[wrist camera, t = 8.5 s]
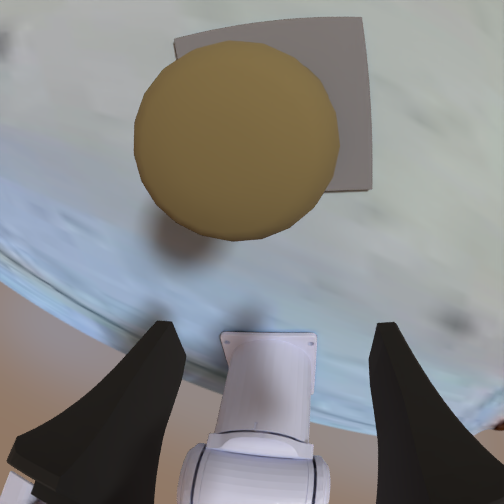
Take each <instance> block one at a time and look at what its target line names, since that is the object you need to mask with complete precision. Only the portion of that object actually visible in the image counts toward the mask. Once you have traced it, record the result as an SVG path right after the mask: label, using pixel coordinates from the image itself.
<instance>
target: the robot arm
mask: <svg viewBox="0 0 504 504" xmlns="http://www.w3.org/2000/svg"><path fill="white" fill-rule="evenodd" d="M220 339H221V342H222V346H223V349H224V353H225V356H226V360H227V363H228V367H229V370H228V374H227V379H226V383H225V388H224V392H223V397H222V401H221V406H220V410H219V415H218V419H217V424H216V428H215V433H209V436H208V440H207V444H204V443H198V444H197V445H196V446H195V447H193V448H192V449H190V450H189V452H188V453H187V455H186V457H185V459H184V462H183V465H182V469H181V472H180V477H179V482H178V488H177V504H328V503H329V495H330V472H329V467H328V465H327V463H326V462H325V461H324V460H323V458H322V457H321V456H314V455H313V446H314V445H313V444H309V426H310V398H311V395H312V394H313V393H314V383H315V368H316V350H317V335H316V334H314V333H254V332H223V333H221V336H220ZM185 360H186V354H185V352H184V349H183V347H182V345H181V342H180V340H179V337H178V335H177V333H176V330H175V328H174V325H173V323H172V322H171V321H156V323H155V324H154V325H153V326H152V327H151V328H150V329H149V330H148V331H147V332H146V334H145V335H144V336H143V337H142V338H141V339H140V340H139V341H138V343H137V344H136V345H135V346H134V347H133V348H132V349H131V350H130V351H129V353H128V354H127V355H126V356H125V357H124V358H123V359H122V360H121V361H120V363H118V365H117V366H116V367H115V368H114V369H113V370H112V371H111V372H110V373H109V374H108V375H107V376H106V377H105V378H104V379H103V380H102V381H101V382H100V383H98V384H97V386H95V387H94V388H93V389H92V390H91V391H89V392H88V393H87V394H86V395H85V396H83V397H82V398H81V399H80V400H79V401H77V402H76V403H74V404H73V405H72V406H70V407H69V408H67V409H66V410H65V411H64V412H62V413H60V414H59V415H57V416H56V417H54V418H53V419H51V420H49V421H48V422H46V423H44V424H43V425H40V426H39V427H37V428H35V429H33V430H31V431H29V432H26V433H24V434H22V435H20V436H17V438H16V441H15V443H14V445H13V447H12V449H11V452H10V454H9V456H8V458H7V463H8V464H10V465H11V466H13V467H14V468H16V469H17V470H19V471H21V472H22V473H24V474H25V475H27V476H29V477H30V478H32V479H34V480H35V484H33V483H31V482H29V481H28V480H26V479H24V478H23V477H21V476H19V475H18V474H16V473H15V472H13V471H11V472H10V473H9V476H8V478H7V481H6V484H5V486H4V489H3V491H2V494H1V497H0V504H154V494H155V484H156V475H157V468H158V462H159V456H160V451H161V446H162V440H163V436H164V433H165V429H166V426H167V423H168V420H169V416H170V413H171V411H172V408H173V405H174V402H175V399H176V396H177V392H178V390H179V387H180V384H181V380H182V376H183V371H184V366H185ZM369 376H370V388H371V395H372V402H373V408H374V415H375V422H376V430H377V438H378V484H377V486H378V487H377V499H376V504H504V465H503V464H502V463H501V462H500V461H499V460H497V459H496V458H495V457H494V456H493V455H492V454H491V453H490V452H489V451H487V450H486V449H485V448H484V447H483V446H482V445H481V444H480V443H479V441H478V440H477V439H476V438H475V437H474V436H473V435H472V434H471V433H470V432H469V431H468V430H467V429H466V428H465V427H464V425H463V424H462V423H461V422H460V421H459V419H458V418H457V417H456V416H455V415H454V413H453V412H452V411H451V410H450V408H449V407H448V406H447V404H446V403H445V402H444V400H443V399H442V398H441V396H440V395H439V393H438V392H437V390H436V389H435V387H434V386H433V385H432V383H431V382H430V380H429V379H428V377H427V375H426V374H425V372H424V371H423V369H422V367H421V366H420V364H419V363H418V361H417V359H416V358H415V356H414V354H413V353H412V351H411V349H410V348H409V346H408V344H407V342H406V341H405V339H404V337H403V335H402V333H401V332H400V330H399V328H398V326H397V324H396V323H395V322H386V323H377V327H376V331H375V335H374V340H373V344H372V348H371V352H370V356H369Z"/></svg>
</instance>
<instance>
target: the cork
mask: <svg viewBox="0 0 504 504" xmlns="http://www.w3.org/2000/svg"><path fill="white" fill-rule="evenodd" d="M339 149H340V140H339V132H338V124H337V116H336V112H335V110H334V108H333V106H332V104H331V102H330V100H329V96H328V94H327V92H326V90H325V88H324V86H323V84H322V82H321V81H320V79H319V78H318V77H317V76H316V75H315V74H314V73H312V72H311V71H310V70H309V69H308V68H307V67H305V66H303V65H302V64H301V63H300V62H299V61H298V60H297V59H296V58H294V57H292V56H290V55H288V54H286V53H284V52H281V51H279V50H277V49H275V48H273V47H270V46H268V45H266V44H263V43H254V42H244V41H231V40H228V41H224V42H220V43H216V44H211V45H208V46H204V47H200V48H196V49H194V50H192V51H190V52H188V53H187V54H185V55H184V56H182V57H181V58H179V59H178V60H176V61H175V62H173V63H172V64H170V65H169V66H167V67H166V68H164V69H163V70H162V71H161V73H160V74H159V75H158V77H157V78H156V79H155V80H154V82H153V83H152V84H151V86H150V87H149V88H148V90H147V91H146V92H145V94H144V96H143V99H142V102H141V105H140V107H139V110H138V113H137V116H136V119H135V125H134V156H135V160H136V163H137V167H138V171H139V174H140V178H141V181H142V183H143V184H144V186H145V188H146V189H147V191H148V192H149V194H150V196H151V197H152V199H153V200H154V202H155V204H156V205H157V206H158V207H159V208H160V209H162V210H163V211H164V212H165V213H166V214H167V215H168V216H169V217H170V218H171V219H173V220H174V221H175V222H176V223H178V224H180V225H182V226H184V227H186V228H187V229H189V230H191V231H193V232H195V233H197V234H199V235H202V236H207V237H212V238H217V239H222V240H227V241H232V242H233V241H245V240H256V239H263V238H266V237H268V236H271V235H273V234H276V233H278V232H281V231H283V230H286V229H288V228H290V227H291V226H292V225H294V224H295V223H296V222H297V221H299V220H300V219H301V218H302V217H303V216H305V215H306V214H307V213H308V212H309V211H311V210H312V209H313V208H314V207H315V205H316V204H317V203H318V201H319V199H320V198H321V196H322V195H323V193H324V191H325V190H326V188H327V186H328V185H329V183H330V182H331V180H332V178H333V176H334V171H335V167H336V163H337V158H338V153H339Z"/></svg>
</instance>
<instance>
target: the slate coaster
mask: <svg viewBox="0 0 504 504" xmlns="http://www.w3.org/2000/svg"><path fill="white" fill-rule="evenodd" d="M228 40H231V41H244V42H254V43H263V44H266V45H268V46H270V47H273V48H275V49H277V50H279V51H281V52H284V53H286V54H288V55H290V56H292V57H294V58H296V59H297V60H298V61H299V62H300V63H301V64H302V65H303V66H305V67H307V68H308V69H309V70H310V71H311V72H312V73H314V74H315V75H316V76H317V77H318V78H319V79H320V81H321V82H322V84H323V86H324V88H325V90H326V92H327V94H328V96H329V100H330V102H331V104H332V106H333V108H334V110H335V112H336V116H337V124H338V132H339V140H340V149H339V153H338V158H337V163H336V167H335V171H334V176H333V178H332V180H331V182H330V183H329V185H328V186H327V188H326V190H325V191H338V190H365V189H372V123H371V102H370V87H369V75H368V64H367V54H366V45H365V37H364V29H363V22H362V17H313V18H296V19H284V20H274V21H265V22H257V23H250V24H243V25H237V26H231V27H225V28H220V29H215V30H210V31H205V32H200V33H196V34H192V35H187V36H183V37H179V38H176V39H174V42H175V48H176V53H177V59H179V58H181V57H182V56H184V55H185V54H187V53H188V52H190V51H192V50H194V49H196V48H200V47H204V46H208V45H211V44H216V43H220V42H224V41H228Z"/></svg>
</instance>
